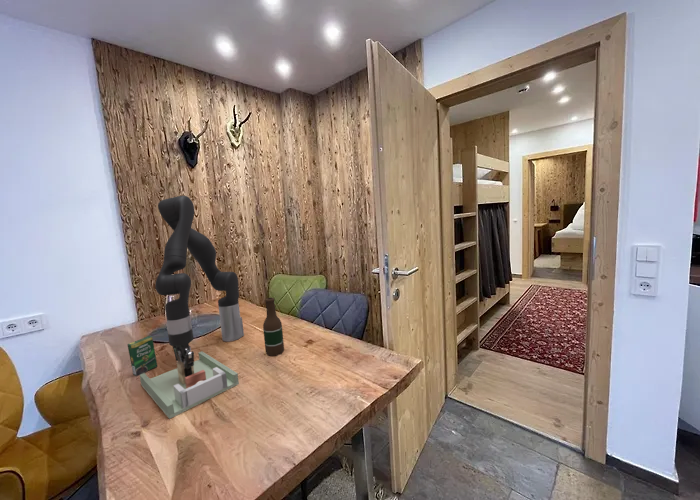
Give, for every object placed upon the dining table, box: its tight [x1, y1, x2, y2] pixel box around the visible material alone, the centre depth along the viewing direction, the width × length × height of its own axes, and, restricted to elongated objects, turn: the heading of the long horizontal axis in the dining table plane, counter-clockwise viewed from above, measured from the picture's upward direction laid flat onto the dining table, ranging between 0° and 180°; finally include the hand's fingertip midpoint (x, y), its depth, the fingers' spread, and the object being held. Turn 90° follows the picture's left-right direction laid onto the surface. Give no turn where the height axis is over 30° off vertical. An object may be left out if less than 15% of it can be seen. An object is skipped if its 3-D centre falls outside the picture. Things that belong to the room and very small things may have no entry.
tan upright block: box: [176, 361, 206, 389], centre depth 103 cm, size 6×12×7 cm, turn 49°
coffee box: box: [127, 335, 158, 377], centre depth 116 cm, size 8×3×13 cm, turn 150°
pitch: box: [139, 350, 240, 420], centre depth 104 cm, size 22×30×4 cm
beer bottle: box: [262, 297, 285, 357], centre depth 124 cm, size 8×8×24 cm
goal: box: [173, 367, 228, 409], centre depth 97 cm, size 14×7×5 cm, turn 139°
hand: (186, 374), depth 105 cm, fingers closed on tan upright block, 4 cm apart
